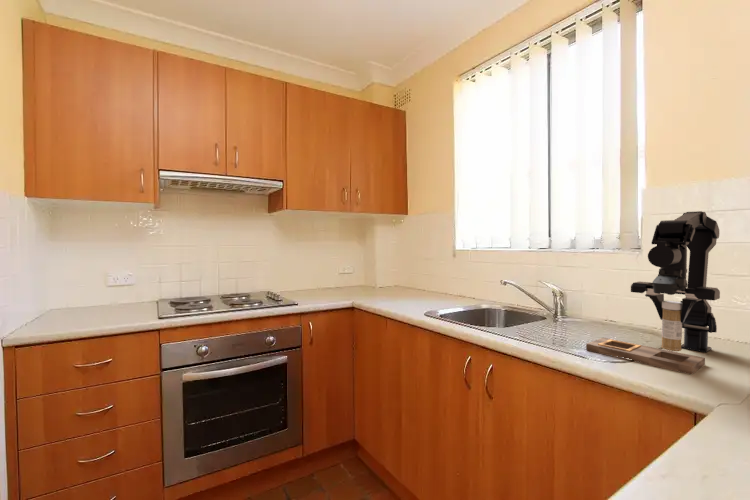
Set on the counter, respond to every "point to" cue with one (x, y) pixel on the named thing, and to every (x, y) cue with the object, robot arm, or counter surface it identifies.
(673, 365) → the rail
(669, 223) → the robot arm
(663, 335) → the sprinkles bottle
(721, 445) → the counter surface
